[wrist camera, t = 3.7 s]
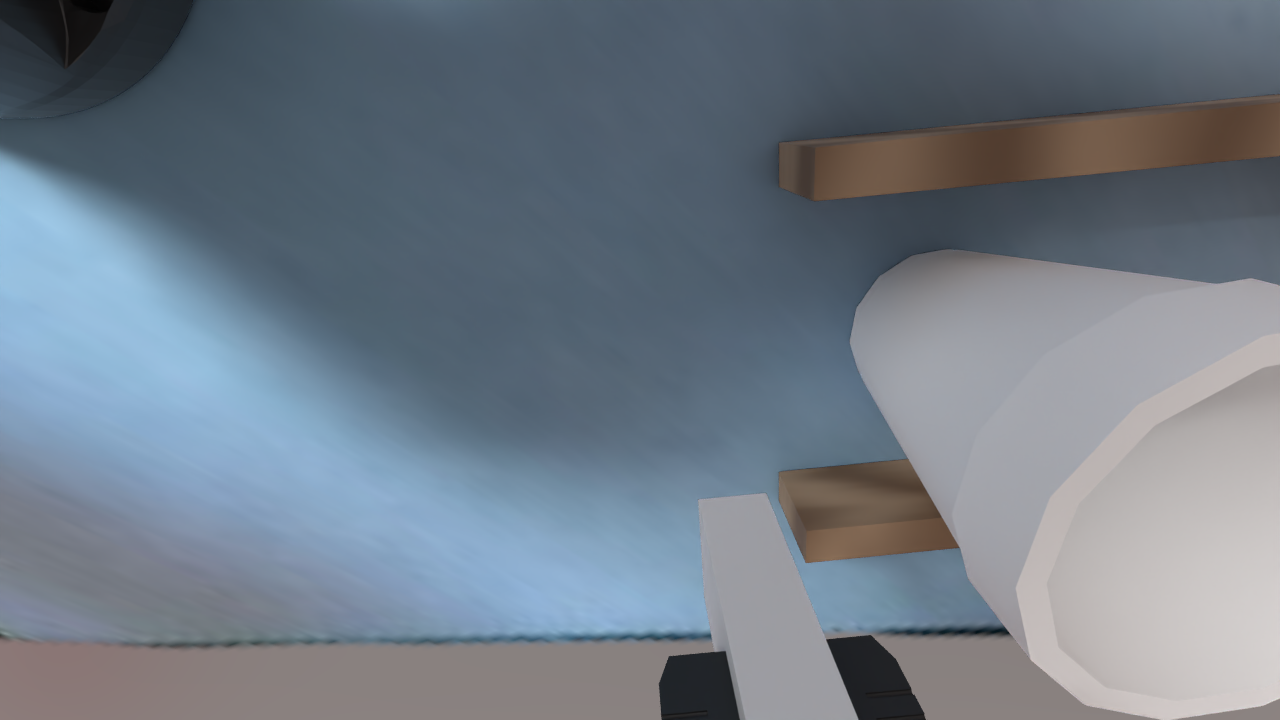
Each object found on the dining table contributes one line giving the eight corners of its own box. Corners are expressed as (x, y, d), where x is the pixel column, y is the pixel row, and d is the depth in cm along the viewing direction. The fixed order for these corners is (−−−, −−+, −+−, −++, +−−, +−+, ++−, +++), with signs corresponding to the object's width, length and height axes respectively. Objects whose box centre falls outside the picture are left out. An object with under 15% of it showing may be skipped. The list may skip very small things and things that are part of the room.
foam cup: (816, 447, 25) (999, 745, 13) (803, 233, 22) (1036, 373, 10) (1038, 410, 25) (1431, 680, 13) (1061, 188, 21) (1629, 274, 9)
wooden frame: (778, 500, 26) (814, 582, 22) (779, 142, 20) (827, 148, 16) (1313, 447, 26) (1462, 517, 22) (1462, 76, 21) (1707, 63, 16)
